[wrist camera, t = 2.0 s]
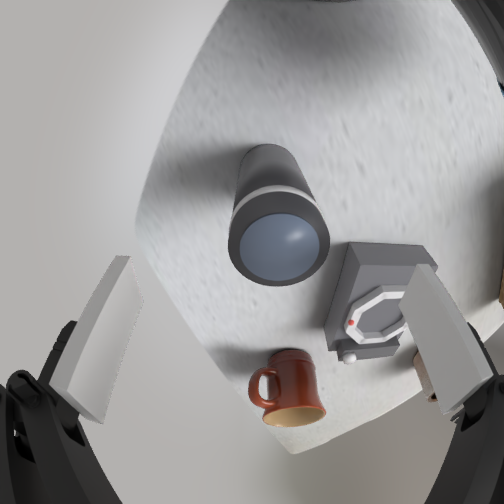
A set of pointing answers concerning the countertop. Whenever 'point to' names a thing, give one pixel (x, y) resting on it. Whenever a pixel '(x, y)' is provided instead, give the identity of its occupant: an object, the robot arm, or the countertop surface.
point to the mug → (288, 390)
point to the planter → (424, 378)
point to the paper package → (502, 291)
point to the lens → (275, 220)
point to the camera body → (371, 299)
